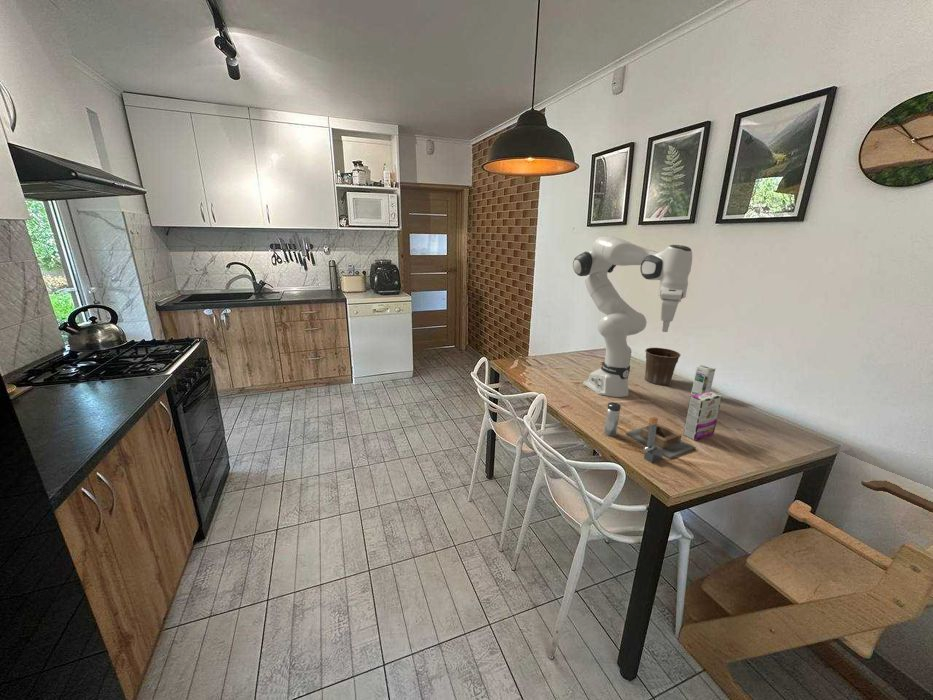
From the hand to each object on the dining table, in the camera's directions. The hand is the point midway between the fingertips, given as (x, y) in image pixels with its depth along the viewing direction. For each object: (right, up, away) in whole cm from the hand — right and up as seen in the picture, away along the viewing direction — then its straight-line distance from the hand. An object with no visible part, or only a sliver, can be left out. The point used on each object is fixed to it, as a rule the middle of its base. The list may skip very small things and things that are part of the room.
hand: (665, 329), depth 135 cm
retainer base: (-11, -45, -12) cm, 47 cm away
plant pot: (+27, -24, +57) cm, 67 cm away
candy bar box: (+14, -40, +4) cm, 43 cm away
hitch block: (-3, -42, -1) cm, 42 cm away
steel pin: (-19, -40, +4) cm, 44 cm away
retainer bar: (-12, -40, -12) cm, 44 cm away
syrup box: (+38, -30, +40) cm, 63 cm away
